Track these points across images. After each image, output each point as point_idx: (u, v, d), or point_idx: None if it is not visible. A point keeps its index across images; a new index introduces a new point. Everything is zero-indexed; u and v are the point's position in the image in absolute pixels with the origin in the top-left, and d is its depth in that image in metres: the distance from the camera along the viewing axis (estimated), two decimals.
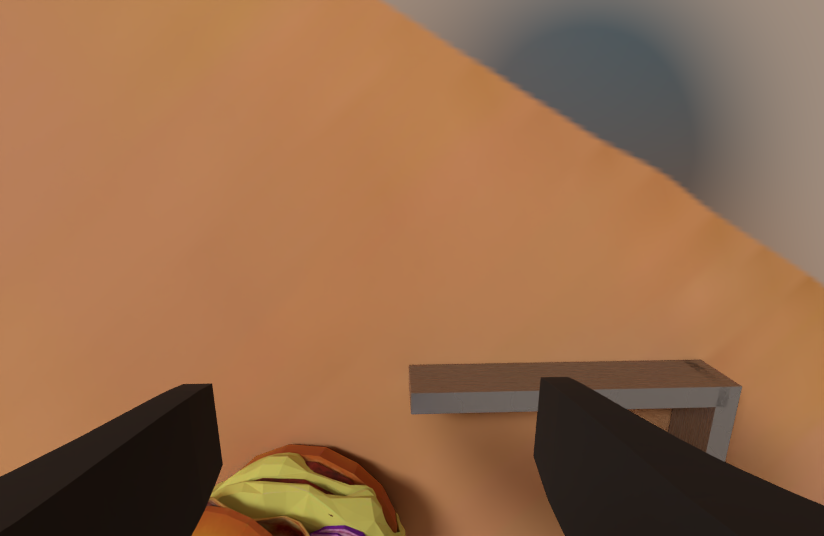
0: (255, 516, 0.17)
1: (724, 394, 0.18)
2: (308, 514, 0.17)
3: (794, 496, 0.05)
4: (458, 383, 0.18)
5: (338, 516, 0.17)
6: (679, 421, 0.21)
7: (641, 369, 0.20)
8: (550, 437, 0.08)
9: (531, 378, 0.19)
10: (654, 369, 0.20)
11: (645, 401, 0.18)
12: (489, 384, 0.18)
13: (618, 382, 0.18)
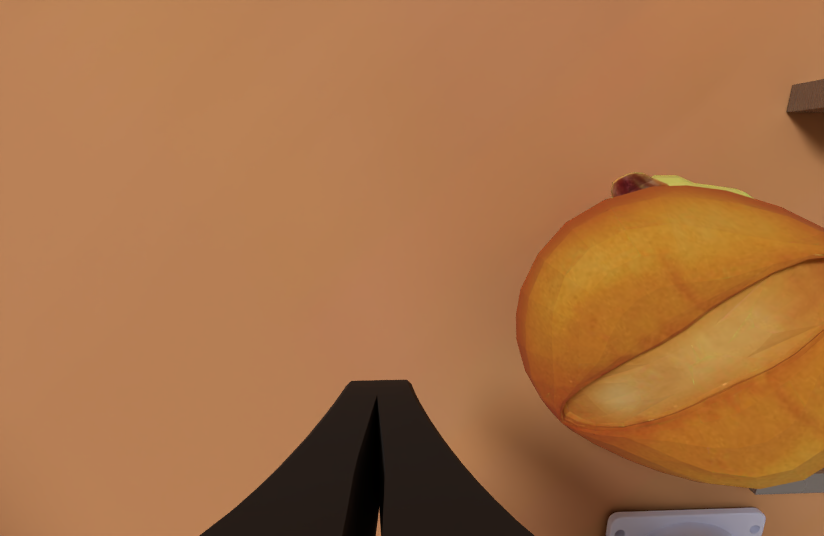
0: None
1: None
2: None
3: (495, 506, 0.05)
4: None
5: None
6: None
7: None
8: (378, 441, 0.08)
9: None
10: None
11: None
12: None
13: None
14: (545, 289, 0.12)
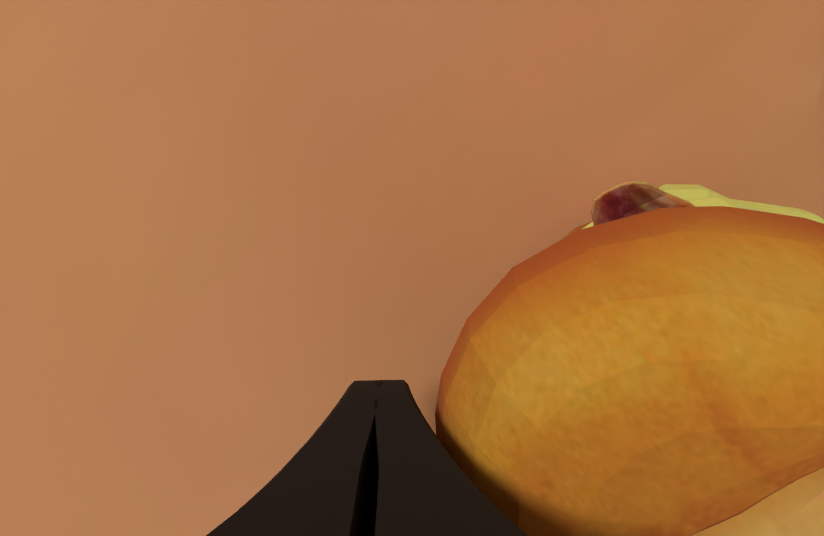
0: None
1: None
2: None
3: (488, 506, 0.05)
4: None
5: None
6: None
7: None
8: None
9: None
10: None
11: None
12: None
13: None
14: (467, 395, 0.07)
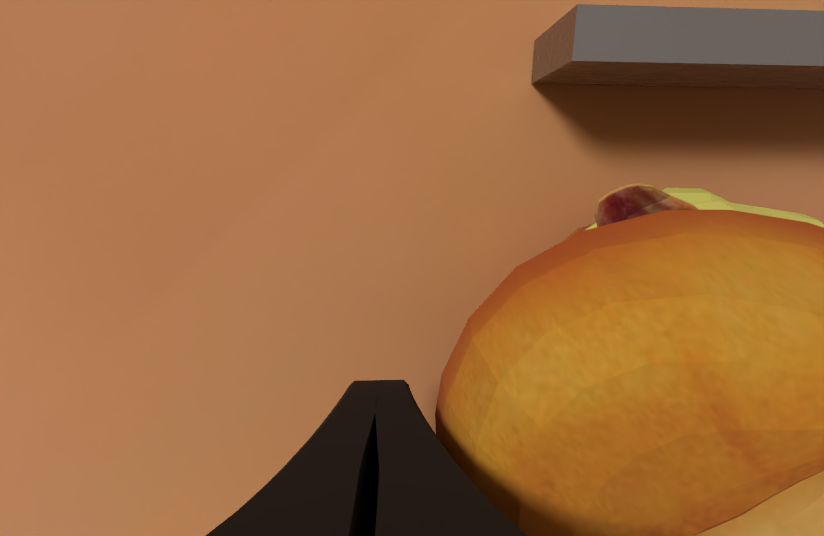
0: None
1: None
2: None
3: (489, 506, 0.05)
4: None
5: None
6: None
7: None
8: None
9: None
10: None
11: None
12: None
13: None
14: (469, 394, 0.07)
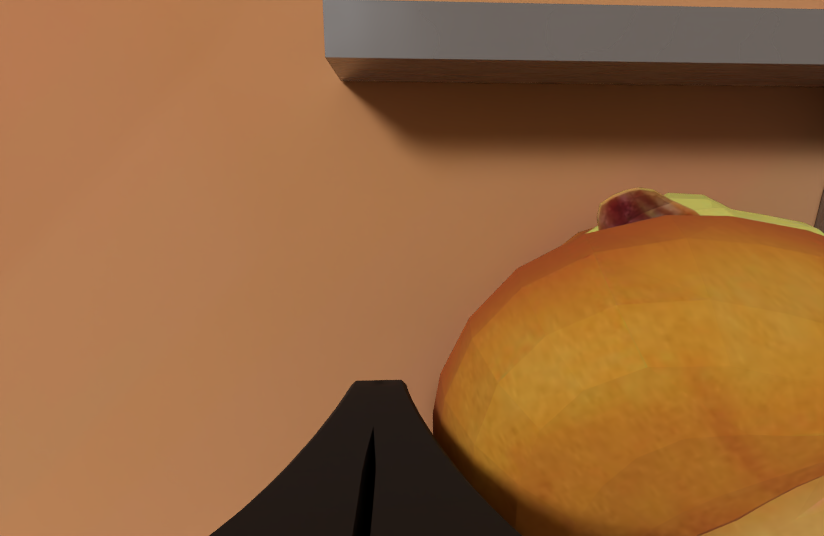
0: None
1: None
2: None
3: (484, 506, 0.05)
4: None
5: None
6: None
7: None
8: None
9: None
10: None
11: None
12: None
13: None
14: (468, 394, 0.07)
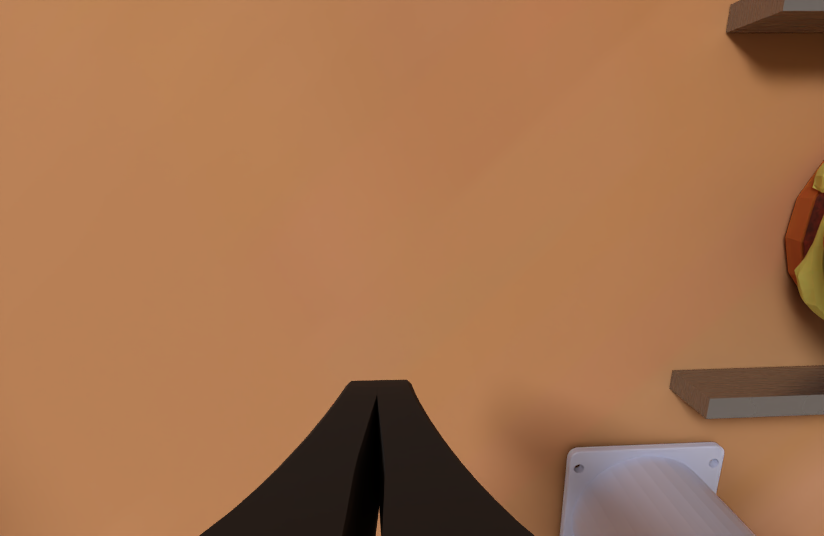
0: None
1: None
2: None
3: (495, 506, 0.05)
4: None
5: None
6: None
7: None
8: (378, 442, 0.08)
9: None
10: None
11: None
12: None
13: None
14: None
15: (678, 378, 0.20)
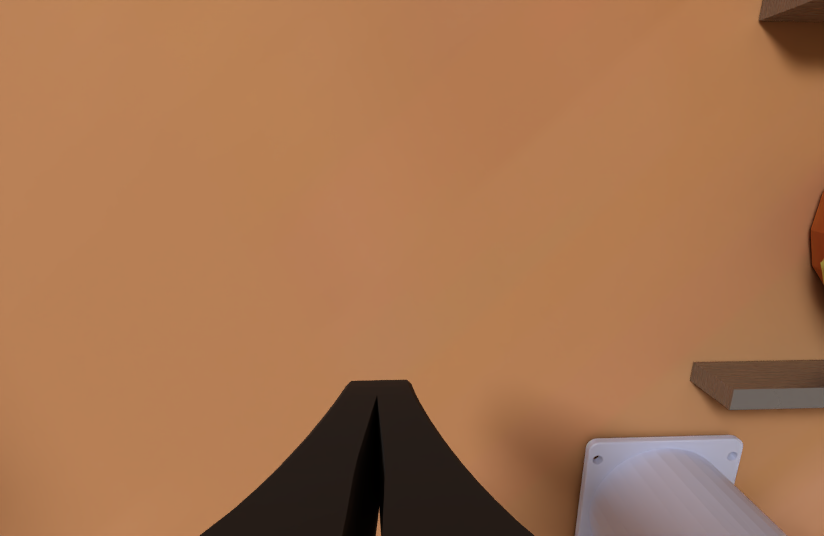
0: None
1: None
2: None
3: (495, 506, 0.05)
4: None
5: None
6: None
7: None
8: (378, 442, 0.08)
9: None
10: None
11: None
12: None
13: None
14: None
15: (699, 370, 0.20)
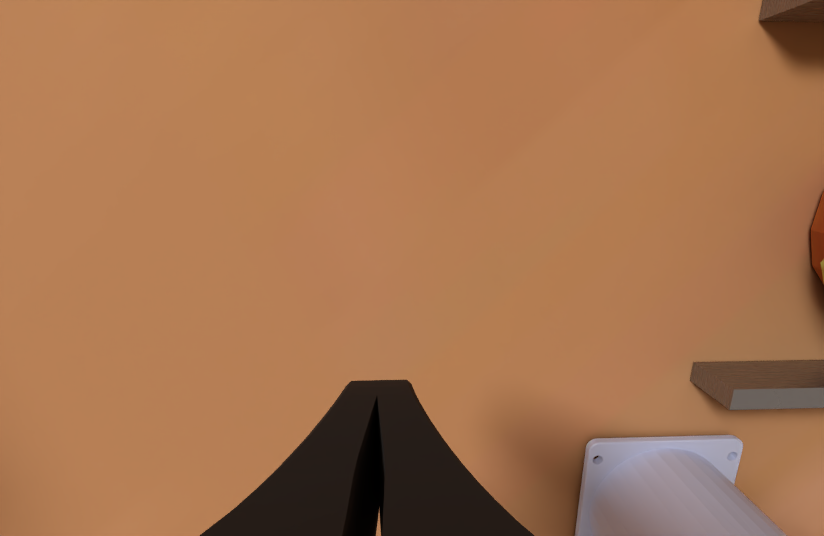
0: None
1: None
2: None
3: (495, 506, 0.05)
4: None
5: None
6: None
7: None
8: (378, 442, 0.08)
9: None
10: None
11: None
12: None
13: None
14: None
15: (699, 370, 0.20)
